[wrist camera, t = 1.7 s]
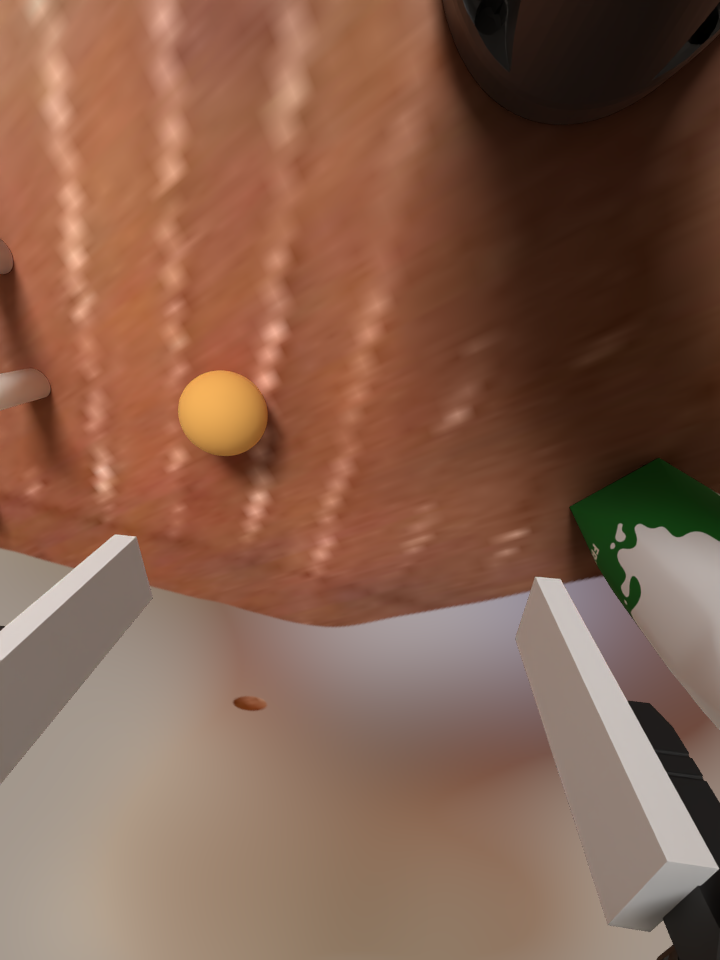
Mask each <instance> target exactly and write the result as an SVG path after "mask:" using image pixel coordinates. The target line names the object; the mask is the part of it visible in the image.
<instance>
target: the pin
mask: <svg viewBox="0 0 720 960" xmlns="http://www.w3.org/2000/svg"><path fill="white" fill-rule="evenodd" d="M50 390H51V388H50V383H49V381H48V379H47V378H46V377H45V375H44V374H43V373H41V372H40V371H38V370H36V369H33V368H27V369H22V370H17V371H12V372H7V373H2V374H0V410H4V409H7V408H11V407H14V406H17V405H21V404H24V403H28V402H31V401H35V400H38V399H41V398H45V397H47V396H48V395H49V394H50Z"/></svg>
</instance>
